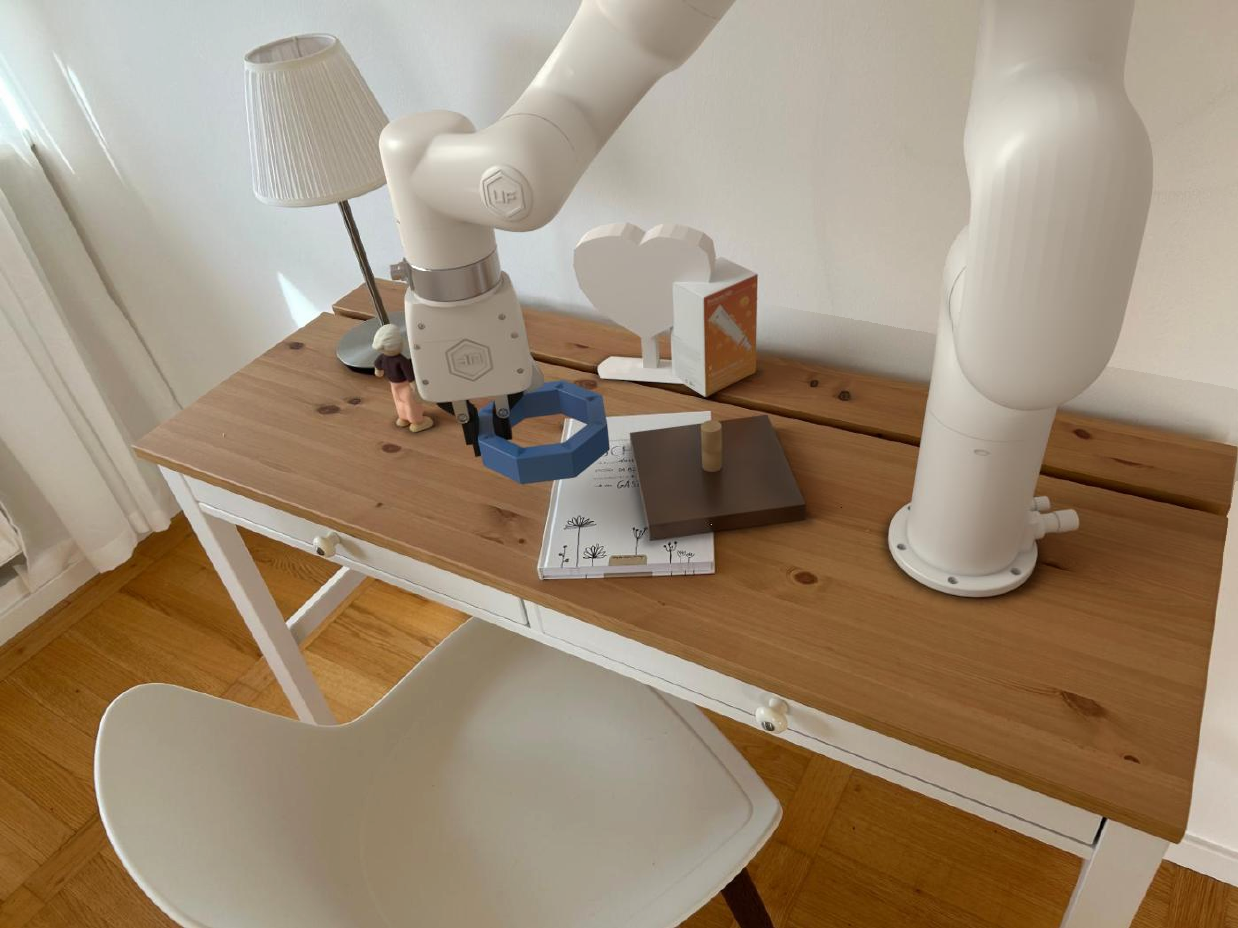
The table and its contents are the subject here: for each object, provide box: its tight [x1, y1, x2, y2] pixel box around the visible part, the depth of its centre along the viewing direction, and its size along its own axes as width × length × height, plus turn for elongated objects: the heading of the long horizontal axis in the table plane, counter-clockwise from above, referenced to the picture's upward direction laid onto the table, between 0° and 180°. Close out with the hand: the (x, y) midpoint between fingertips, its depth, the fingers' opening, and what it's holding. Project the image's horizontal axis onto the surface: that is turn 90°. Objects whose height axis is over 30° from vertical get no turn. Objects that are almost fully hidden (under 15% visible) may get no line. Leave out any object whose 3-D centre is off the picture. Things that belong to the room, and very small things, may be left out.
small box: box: [669, 256, 759, 398], centre depth 103 cm, size 8×6×13 cm
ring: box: [478, 379, 611, 485], centre depth 86 cm, size 12×12×3 cm
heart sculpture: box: [572, 222, 717, 385], centre depth 103 cm, size 16×5×18 cm, turn 76°
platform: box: [629, 414, 807, 542], centre depth 90 cm, size 15×15×7 cm
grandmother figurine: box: [371, 323, 434, 433], centre depth 101 cm, size 8×4×13 cm, turn 62°
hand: (490, 445), depth 86 cm, fingers closed on ring
